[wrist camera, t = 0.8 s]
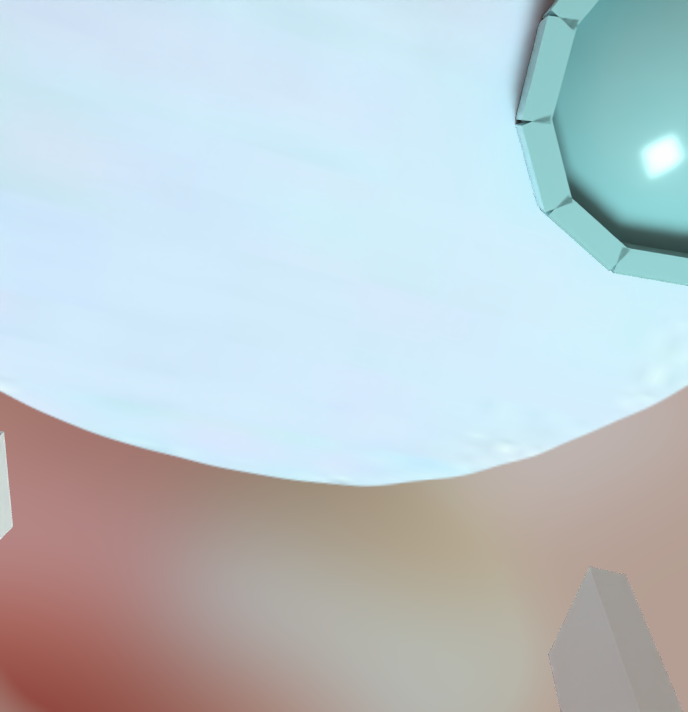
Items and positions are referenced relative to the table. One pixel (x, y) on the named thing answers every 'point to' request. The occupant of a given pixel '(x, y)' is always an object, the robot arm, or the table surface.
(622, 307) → the table surface
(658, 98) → the dish
